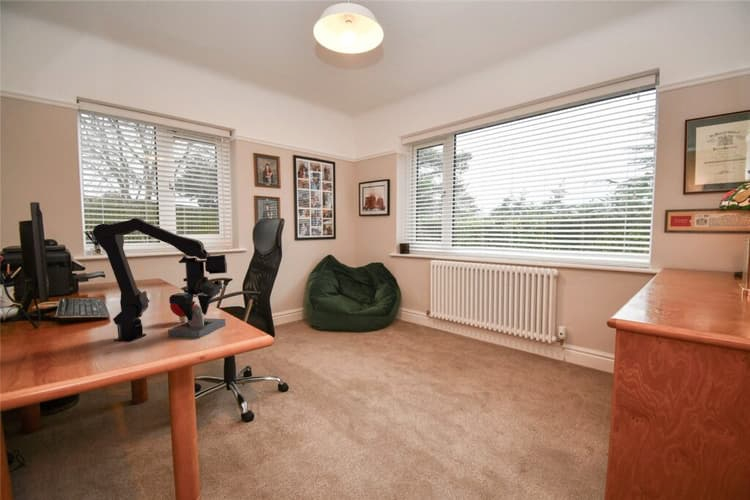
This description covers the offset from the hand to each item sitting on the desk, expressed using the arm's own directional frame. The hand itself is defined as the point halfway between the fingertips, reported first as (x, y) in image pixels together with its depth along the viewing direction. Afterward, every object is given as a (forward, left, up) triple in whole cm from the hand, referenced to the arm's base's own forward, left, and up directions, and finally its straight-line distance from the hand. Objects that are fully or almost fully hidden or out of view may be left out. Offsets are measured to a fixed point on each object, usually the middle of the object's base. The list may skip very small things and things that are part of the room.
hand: (197, 317), depth 113 cm
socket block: (0, 0, -5) cm, 5 cm away
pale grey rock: (0, -1, -5) cm, 5 cm away
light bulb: (-14, +9, -5) cm, 17 cm away
